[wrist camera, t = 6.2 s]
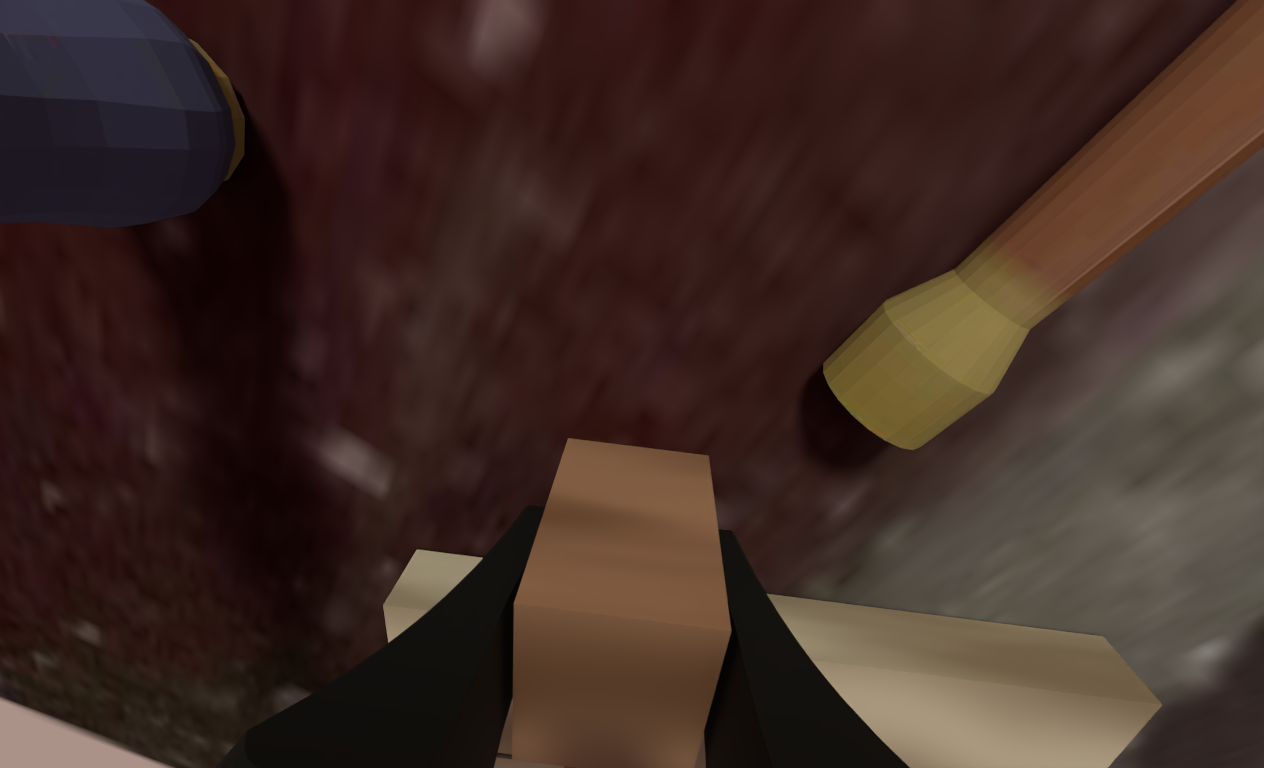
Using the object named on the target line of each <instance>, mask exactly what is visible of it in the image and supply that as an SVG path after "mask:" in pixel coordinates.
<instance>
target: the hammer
mask: <svg viewBox="0 0 1264 768" xmlns="http://www.w3.org/2000/svg"><path fill="white" fill-rule="evenodd" d="M1263 147H1264V0H1236V1H1235V2H1234V3H1233V4H1232V5H1231V6H1230V7H1229V8H1228V9H1227V10H1226V11H1225V12H1224V13H1223V14H1222V15H1220V16H1219V17H1218V18H1217V19H1216V20H1215V21H1214V22H1213V23H1212V24H1211V25H1210V26H1209V27H1208V28H1207V29H1206V30H1205V31H1204V32H1203V33H1202V34H1201V35H1199V36H1198V37H1197V38H1196V39H1195V40H1194V41H1193V42H1192V43H1191V44H1190V45H1189V46H1188V47H1187V48H1186V49H1185V50H1184V51H1183V52H1182V53H1181V54H1180V55H1179V56H1177V57H1176V58H1175V59H1174V60H1173V61H1172V62H1171V63H1170V64H1169V65H1168V66H1167V67H1166V68H1165V69H1164V70H1163V71H1162V72H1161V73H1160V74H1159V75H1158V76H1157V77H1155V78H1154V79H1153V80H1152V81H1151V82H1150V83H1149V84H1148V85H1147V86H1146V87H1145V88H1144V89H1143V90H1142V91H1141V92H1140V93H1139V94H1138V95H1137V96H1136V97H1134V98H1133V99H1132V100H1131V101H1130V102H1129V103H1128V104H1127V105H1126V106H1125V107H1124V108H1123V109H1122V110H1121V111H1120V112H1119V113H1118V114H1117V115H1116V116H1115V117H1114V118H1112V119H1111V120H1110V121H1109V122H1108V123H1107V124H1106V125H1105V126H1104V127H1103V128H1102V129H1101V130H1100V131H1099V132H1098V133H1097V134H1096V135H1095V136H1094V137H1093V138H1091V139H1090V140H1089V141H1088V142H1087V143H1086V144H1085V145H1084V146H1083V147H1082V148H1081V149H1080V150H1079V151H1078V152H1077V153H1076V154H1075V155H1074V156H1073V157H1072V158H1071V159H1069V160H1068V161H1067V162H1066V163H1065V164H1064V165H1063V166H1062V167H1061V168H1060V169H1059V170H1058V171H1057V172H1056V173H1055V174H1054V175H1053V176H1052V177H1051V178H1050V179H1048V180H1047V181H1046V182H1045V183H1044V184H1043V185H1042V186H1041V187H1040V188H1039V189H1038V190H1037V191H1036V192H1035V193H1034V194H1033V195H1032V196H1031V197H1030V198H1029V199H1028V200H1026V201H1025V202H1024V203H1023V204H1022V205H1021V206H1020V207H1019V208H1018V209H1017V210H1016V211H1015V212H1014V213H1013V214H1012V215H1011V216H1010V217H1009V218H1008V219H1007V220H1006V221H1004V222H1003V223H1002V224H1001V225H1000V226H999V227H998V228H997V229H996V230H995V231H994V232H993V233H992V234H991V235H990V236H989V237H988V238H987V239H986V240H985V241H983V242H982V243H981V244H980V245H979V246H978V247H977V248H976V249H975V250H974V251H973V252H972V253H971V254H970V255H969V256H968V257H967V258H966V259H965V260H964V261H963V262H961V263H960V264H959V265H958V266H957V267H956V268H955V269H953V270H951V271H949V272H947V273H944V274H942V275H940V276H938V277H936V278H934V279H931V280H929V281H927V282H925V283H923V284H920V285H918V286H916V287H914V288H912V289H909V290H907V291H905V292H903V293H901V294H898V295H896V296H894V297H892V298H890V299H888V300H886V301H885V302H884V303H883V304H882V305H881V306H880V307H879V308H878V309H877V310H876V311H875V312H874V313H873V314H872V315H871V316H870V317H869V318H868V319H867V320H866V321H865V322H864V323H863V324H862V325H861V326H860V327H859V328H858V329H857V330H856V331H855V332H854V333H853V334H852V335H851V336H850V337H849V338H848V339H847V340H846V341H845V342H844V343H843V344H842V345H841V346H840V347H839V348H838V349H837V350H836V351H835V352H834V353H833V354H832V355H831V356H830V357H829V358H828V359H827V360H826V361H825V362H824V363H823V373H824V376H825V378H826V381H827V383H828V385H829V387H830V388H831V390H832V391H833V393H834V394H835V396H836V397H837V399H838V400H839V401H840V402H841V403H842V404H843V406H844V407H845V408H846V409H847V410H848V411H849V412H850V413H851V415H853V416H854V417H855V418H856V419H857V420H858V421H859V422H861V423H862V424H863V425H864V426H865V427H866V428H867V429H869V430H870V431H872V432H873V433H875V434H876V435H877V436H879V437H880V438H882V439H883V440H885V441H887V442H889V443H891V444H893V445H896V446H898V447H900V448H904V449H910V450H914V449H917V448H919V447H921V446H922V445H924V444H925V443H926V442H928V441H929V440H930V439H932V438H933V437H935V436H936V435H937V434H939V433H940V432H941V431H943V430H944V429H945V428H947V427H948V426H949V425H951V424H952V423H953V422H955V421H956V420H957V419H959V418H960V417H962V416H963V415H964V414H966V413H967V412H968V411H970V410H971V409H972V408H974V407H975V406H976V405H978V404H979V403H980V402H982V401H983V400H984V399H986V398H987V397H989V396H990V395H991V394H993V393H994V391H995V390H996V388H997V386H998V384H999V383H1000V381H1001V379H1002V377H1003V376H1004V374H1005V372H1006V371H1007V369H1008V367H1009V365H1010V364H1011V362H1012V360H1013V358H1014V357H1015V355H1016V353H1017V351H1018V350H1019V348H1020V346H1021V344H1022V343H1023V341H1024V339H1025V337H1026V336H1027V334H1028V332H1029V330H1030V329H1031V328H1032V327H1034V326H1035V325H1036V324H1037V323H1039V322H1040V321H1041V320H1043V319H1044V318H1045V317H1046V316H1048V315H1049V314H1050V313H1052V312H1053V311H1054V310H1055V309H1057V308H1058V307H1059V306H1060V305H1062V304H1063V303H1064V302H1066V301H1067V300H1068V299H1069V298H1071V297H1072V296H1073V295H1075V294H1076V293H1077V292H1078V291H1080V290H1081V289H1082V288H1084V287H1085V286H1086V285H1087V284H1089V283H1090V282H1091V281H1092V280H1094V279H1095V278H1096V277H1098V276H1099V275H1100V274H1101V273H1103V272H1104V271H1105V270H1107V269H1108V268H1109V267H1110V266H1112V265H1113V264H1114V263H1115V262H1117V261H1118V260H1119V259H1121V258H1122V257H1123V256H1124V255H1126V254H1127V253H1128V252H1130V251H1131V250H1132V249H1133V248H1135V247H1136V246H1137V245H1139V244H1140V243H1141V242H1142V241H1144V240H1145V239H1146V238H1147V237H1149V236H1150V235H1151V234H1153V233H1154V232H1155V231H1156V230H1158V229H1159V228H1160V227H1162V226H1163V225H1164V224H1165V223H1167V222H1168V221H1169V220H1170V219H1172V218H1173V217H1174V216H1176V215H1177V214H1178V213H1179V212H1181V211H1182V210H1183V209H1185V208H1186V207H1187V206H1188V205H1190V204H1191V203H1192V202H1193V201H1195V200H1196V199H1197V198H1199V197H1200V196H1201V195H1202V194H1204V193H1205V192H1206V191H1208V190H1209V189H1210V188H1211V187H1213V186H1214V185H1215V184H1217V183H1218V182H1219V181H1220V180H1222V179H1223V178H1224V177H1225V176H1227V175H1228V174H1229V173H1231V172H1232V171H1233V170H1234V169H1236V168H1237V167H1238V166H1240V165H1241V164H1242V163H1243V162H1245V161H1246V160H1247V159H1248V158H1250V157H1251V156H1252V155H1254V154H1255V153H1256V152H1257V151H1259V150H1260V149H1261V148H1263Z"/></svg>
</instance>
